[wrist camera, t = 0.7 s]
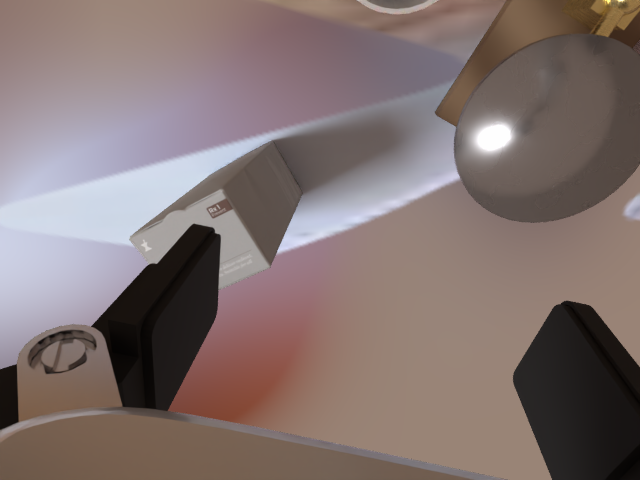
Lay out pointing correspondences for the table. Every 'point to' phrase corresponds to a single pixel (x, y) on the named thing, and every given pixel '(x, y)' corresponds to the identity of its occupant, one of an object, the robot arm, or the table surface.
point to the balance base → (518, 44)
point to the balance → (555, 120)
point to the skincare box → (232, 214)
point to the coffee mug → (397, 5)
